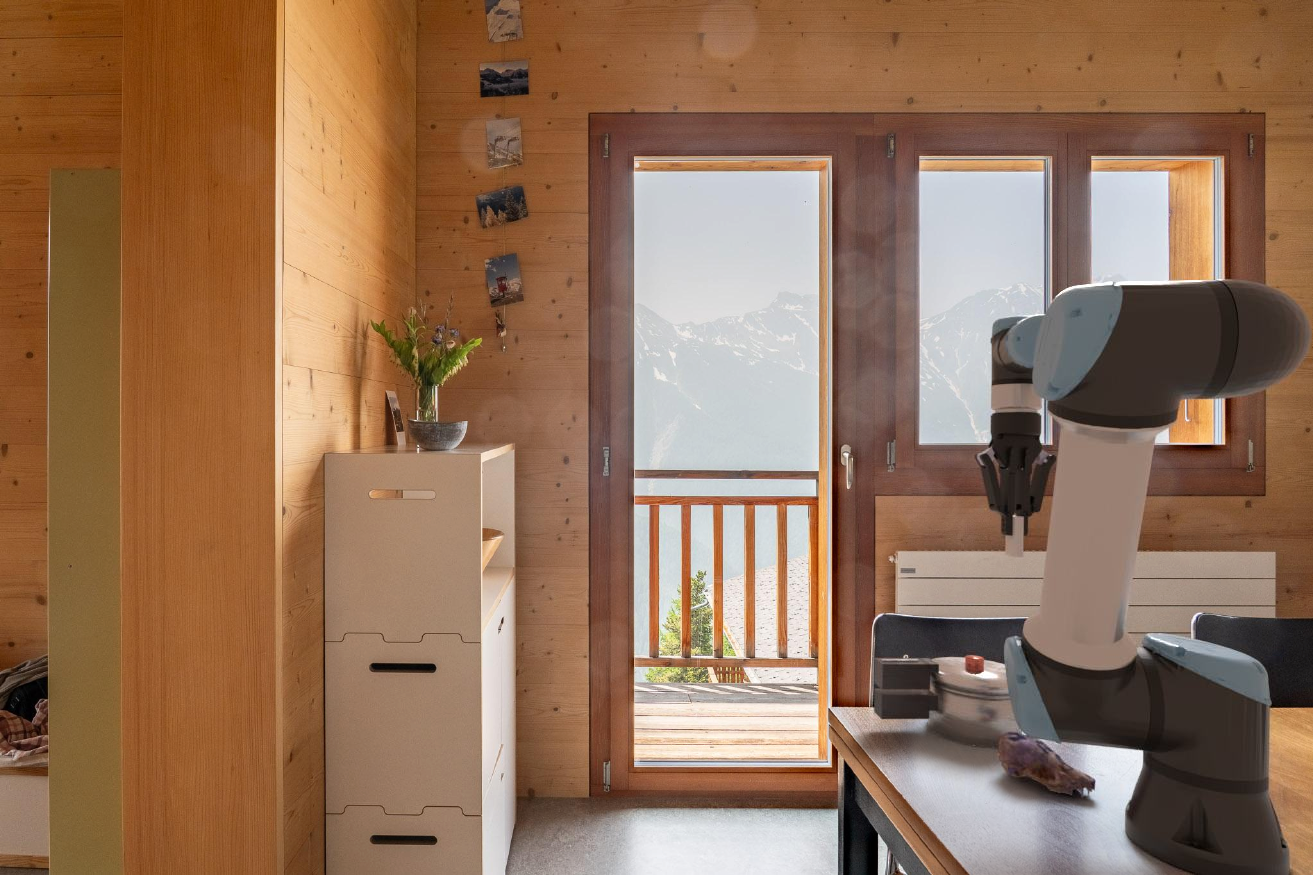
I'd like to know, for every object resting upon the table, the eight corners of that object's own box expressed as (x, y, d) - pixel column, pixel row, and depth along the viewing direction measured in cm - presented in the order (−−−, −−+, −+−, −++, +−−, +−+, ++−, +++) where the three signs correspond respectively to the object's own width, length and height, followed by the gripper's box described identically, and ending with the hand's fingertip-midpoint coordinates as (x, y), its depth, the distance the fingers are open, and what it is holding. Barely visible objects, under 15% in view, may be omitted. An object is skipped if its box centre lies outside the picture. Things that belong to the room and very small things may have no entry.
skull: (1104, 795, 98) (1104, 748, 98) (1077, 811, 93) (1078, 762, 93) (1014, 764, 107) (1015, 721, 108) (986, 776, 103) (987, 732, 103)
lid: (1047, 701, 113) (1047, 671, 113) (896, 701, 111) (897, 671, 111) (994, 672, 128) (995, 645, 128) (861, 672, 127) (862, 645, 127)
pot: (1042, 748, 113) (1043, 695, 113) (895, 749, 112) (896, 695, 112) (993, 714, 128) (993, 668, 128) (861, 715, 126) (862, 668, 126)
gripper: (1040, 414, 126) (1038, 553, 125) (966, 412, 125) (964, 552, 124) (1067, 411, 118) (1066, 559, 118) (989, 409, 117) (987, 558, 117)
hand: (1014, 555), depth 121 cm, fingers closed
